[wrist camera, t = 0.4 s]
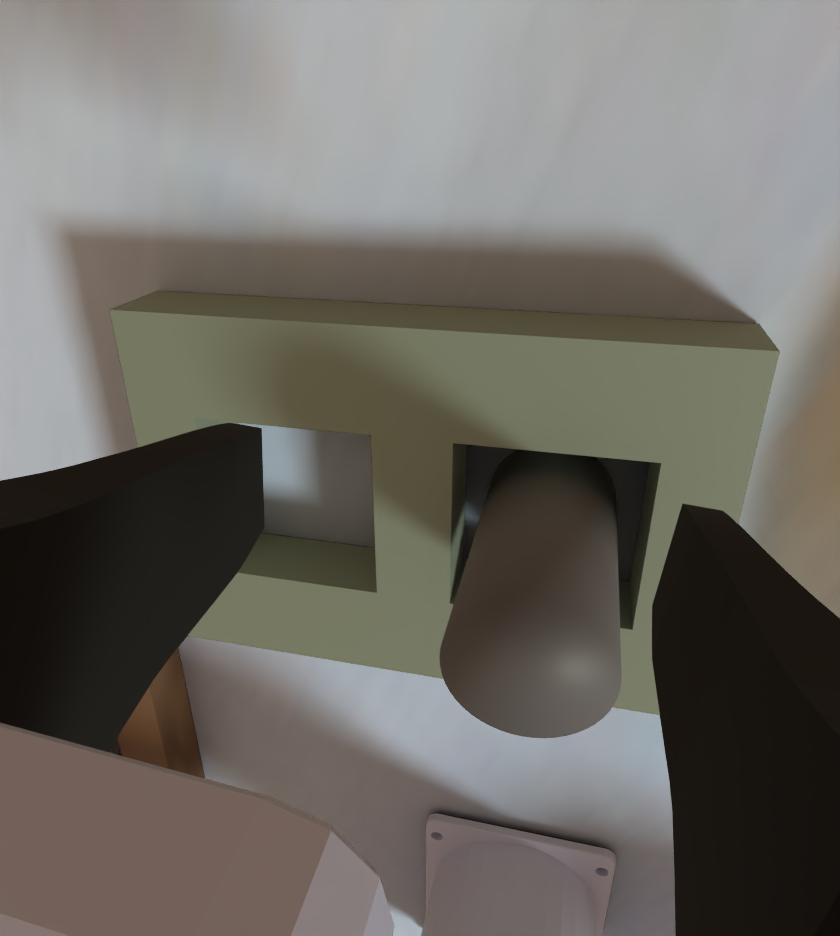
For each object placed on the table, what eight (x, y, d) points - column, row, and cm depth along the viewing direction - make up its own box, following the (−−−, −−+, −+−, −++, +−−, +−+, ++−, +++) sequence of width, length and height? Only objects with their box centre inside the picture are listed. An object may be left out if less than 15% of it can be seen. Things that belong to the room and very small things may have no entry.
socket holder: (212, 815, 34) (189, 856, 33) (39, 776, 36) (8, 813, 35) (172, 625, 29) (142, 661, 27) (-28, 592, 31) (-69, 623, 29)
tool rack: (683, 665, 24) (715, 889, 17) (209, 593, 28) (78, 753, 21) (758, 323, 19) (851, 448, 12) (157, 290, 22) (-45, 370, 15)
